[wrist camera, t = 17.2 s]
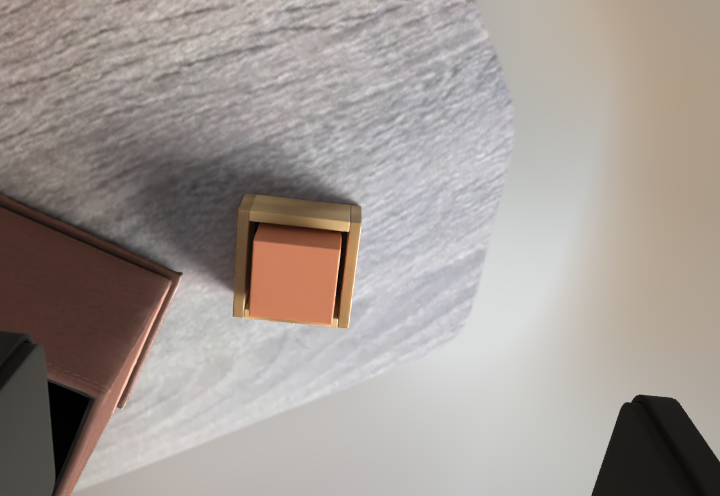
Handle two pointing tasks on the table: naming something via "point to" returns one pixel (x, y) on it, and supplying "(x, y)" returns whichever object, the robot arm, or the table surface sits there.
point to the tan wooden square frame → (303, 216)
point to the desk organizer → (79, 322)
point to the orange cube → (294, 273)
